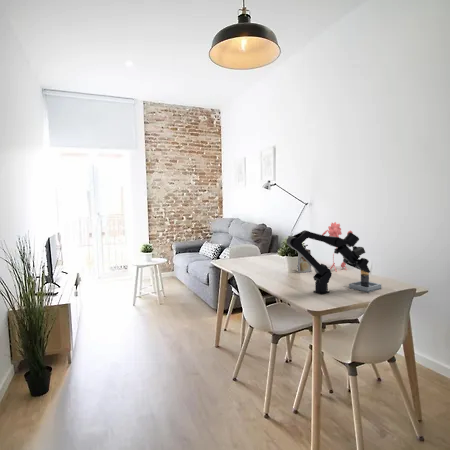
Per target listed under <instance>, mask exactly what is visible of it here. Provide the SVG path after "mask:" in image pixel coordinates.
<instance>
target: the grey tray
mask: <svg viewBox="0 0 450 450" xmlns="http://www.w3.org/2000/svg"><path fill="white" fill-rule="evenodd" d="M348 288H349V289H352V290H357V291H360V292H365V293H370V292H375V291H377V290H381V289H382V284H381V283H376V282H372V281H369V287H364V286H361V280H359V281H354V282H350V283H348Z"/></svg>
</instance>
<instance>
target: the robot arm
mask: <svg viewBox="0 0 450 450" xmlns="http://www.w3.org/2000/svg"><path fill="white" fill-rule="evenodd" d="M347 233H348V232H347ZM307 239H311V240H315V241H317V242H318V241H319V242H321V243H322V242H323V243H325V244H326V245H329V246H330V247H334V252H333V254H336V255H338V254H340V255H341V256H342V258H343V259H342V262H344V263H345V264H346V265H347V266H349V267H353V269H354V268H355V269H357V270H360V271H361V270H363V271H365V272H368V273H369V274H370V273H371V271H370V268H369V266H368V264H369V263H370V262H369V259H367V258H365V257H361V255H364V254H365V253H366V250H365V248H364V247H363V246H356V244H357V243H358V242H359V241H360V238H359V236H357V235H356V234H354V233H353V234H352V233H351V232H349V233H348V235H346V236H345V237H344V238H342V239H341V237H340V236H339V237H335V236H329V235H322V234H320V233H315V232H312V231H309V230H302V231H300V232H297V233H296V234H294V235H293V236H289V237H287V239H286V242H285V243H286V245H287V246H288V247H290V248H291V249H292V250H295V252H296V251H297V252H298V253H299V254H300V255H301V256H302V257H303V258H304V259H305V260H306V261H307V262H308V263H309V264H310V265H311V268H313V269H314V272H315V274H314V275H313V281H315V284H314V285H315V290H313V293H317V294H320V295H325V294H328V293H330V290H329V288H328V284H329V282H330V279H331V278H332V271H331V270H330V268H328V266H327V265H326V264H324V263H319V262H318V260H317V259H315V257H314V256H313V255H312V253H311V254H310V253H309V252H308V251H307V250H306V249H307V248H305V247H304V245H303V243H304V242H305V241H306V240H307ZM336 247H337V248H336ZM351 247H352V249H351Z"/></svg>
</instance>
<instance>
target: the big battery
mask: <svg viewBox="0 0 450 450" xmlns="http://www.w3.org/2000/svg"><path fill="white" fill-rule="evenodd" d="M360 281H361V286H364V287H369V282H370V273H368V272H365V271H363V270H361V269H360Z"/></svg>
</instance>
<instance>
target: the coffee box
mask: <svg viewBox="0 0 450 450" xmlns="http://www.w3.org/2000/svg"><path fill="white" fill-rule="evenodd" d="M305 249H306V250H307V251H308V252H309V253H310V254H311V255H312V253H311V249H307V248H305ZM297 267H298V268H297V269H298V272H297V273H301V274H303V273H310V272H312V266H311V265H310V264H309V263H308V262H307V261H306V260H305V259H304V258H303V257H302V256H301V255H300V254H299V253H298V265H297Z"/></svg>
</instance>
